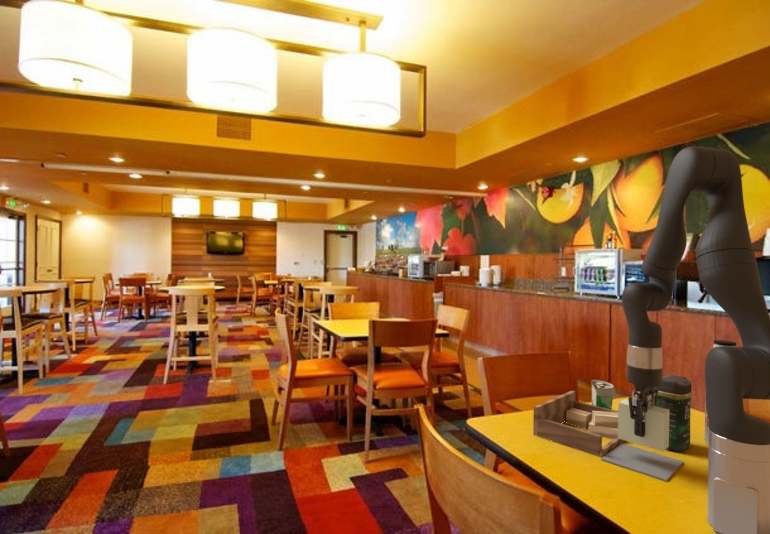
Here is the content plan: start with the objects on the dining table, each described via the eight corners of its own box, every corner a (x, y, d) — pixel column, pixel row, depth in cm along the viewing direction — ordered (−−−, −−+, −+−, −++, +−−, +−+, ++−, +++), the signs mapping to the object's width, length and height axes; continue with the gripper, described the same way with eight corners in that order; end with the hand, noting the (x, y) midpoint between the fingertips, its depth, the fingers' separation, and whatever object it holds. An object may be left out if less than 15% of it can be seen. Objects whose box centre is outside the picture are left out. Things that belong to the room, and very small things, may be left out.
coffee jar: (682, 455, 110) (683, 382, 110) (648, 444, 116) (649, 376, 116) (694, 445, 116) (696, 376, 116) (661, 436, 122) (662, 370, 122)
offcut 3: (619, 441, 119) (619, 430, 119) (588, 434, 124) (588, 423, 124) (623, 436, 123) (623, 425, 123) (592, 429, 128) (593, 418, 128)
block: (663, 451, 101) (664, 413, 101) (617, 438, 108) (618, 402, 108) (668, 446, 104) (669, 409, 103) (623, 434, 111) (624, 399, 111)
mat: (666, 481, 96) (666, 479, 96) (600, 460, 106) (600, 458, 106) (683, 462, 105) (683, 461, 105) (621, 444, 116) (621, 443, 116)
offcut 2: (622, 428, 120) (622, 417, 120) (594, 425, 122) (595, 415, 122) (618, 423, 124) (618, 412, 124) (592, 420, 126) (592, 410, 126)
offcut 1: (585, 429, 126) (585, 416, 126) (566, 423, 131) (566, 410, 131) (591, 426, 129) (592, 413, 129) (572, 420, 134) (572, 407, 134)
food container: (618, 423, 131) (619, 391, 131) (596, 421, 133) (596, 388, 133) (611, 411, 143) (612, 380, 143) (591, 408, 145) (591, 379, 145)
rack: (602, 457, 108) (602, 425, 108) (533, 434, 122) (533, 406, 122) (635, 432, 124) (636, 405, 124) (571, 415, 138) (571, 390, 138)
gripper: (652, 371, 98) (650, 446, 98) (670, 362, 108) (669, 430, 108) (616, 365, 104) (615, 436, 104) (637, 357, 113) (636, 422, 113)
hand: (642, 433), depth 106 cm, fingers closed on block, 4 cm apart
